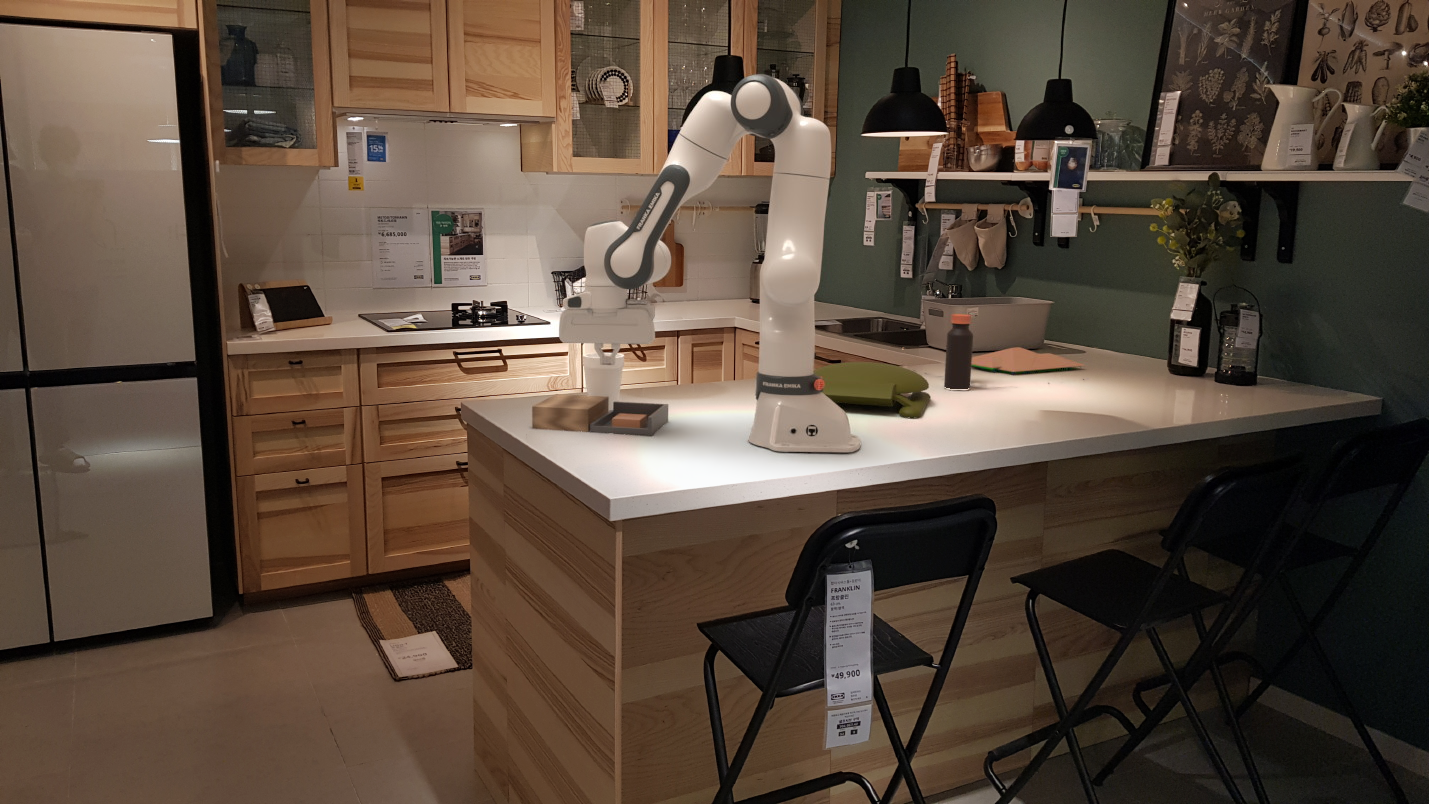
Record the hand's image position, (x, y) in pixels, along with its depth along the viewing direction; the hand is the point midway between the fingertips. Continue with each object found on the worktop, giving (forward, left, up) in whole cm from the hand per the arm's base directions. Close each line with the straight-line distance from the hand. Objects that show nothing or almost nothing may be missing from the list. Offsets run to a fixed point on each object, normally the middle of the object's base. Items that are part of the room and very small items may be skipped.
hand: (607, 364), depth 228 cm
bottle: (-76, -73, -14) cm, 107 cm away
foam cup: (+6, -16, -14) cm, 22 cm away
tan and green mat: (-96, -110, -14) cm, 147 cm away
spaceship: (-53, -46, -14) cm, 71 cm away
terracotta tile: (-5, 0, -11) cm, 12 cm away
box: (-5, 0, -13) cm, 14 cm away
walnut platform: (+8, 0, -13) cm, 16 cm away
